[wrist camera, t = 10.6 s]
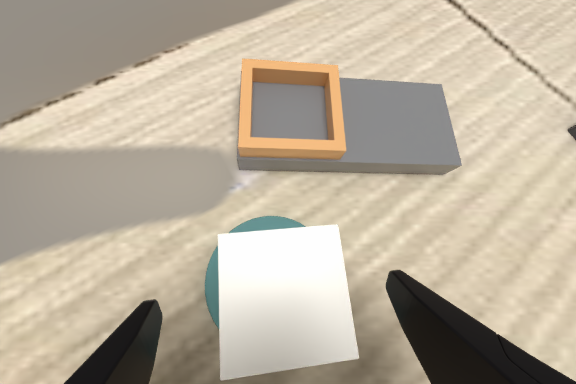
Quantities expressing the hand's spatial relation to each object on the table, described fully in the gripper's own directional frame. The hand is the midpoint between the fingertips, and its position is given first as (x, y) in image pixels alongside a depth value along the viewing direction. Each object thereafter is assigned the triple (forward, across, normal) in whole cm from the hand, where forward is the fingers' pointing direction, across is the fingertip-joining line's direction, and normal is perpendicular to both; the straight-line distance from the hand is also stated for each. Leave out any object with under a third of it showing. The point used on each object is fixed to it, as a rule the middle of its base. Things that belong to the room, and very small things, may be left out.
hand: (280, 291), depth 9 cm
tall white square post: (+6, 0, +6) cm, 8 cm away
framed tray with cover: (+14, -7, -2) cm, 17 cm away
